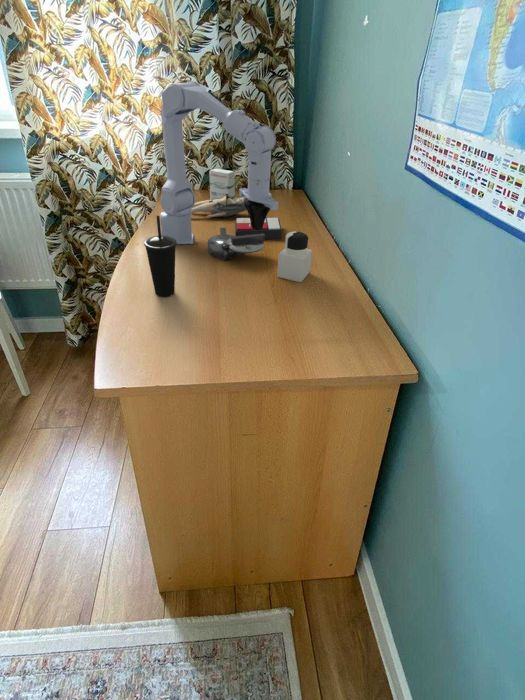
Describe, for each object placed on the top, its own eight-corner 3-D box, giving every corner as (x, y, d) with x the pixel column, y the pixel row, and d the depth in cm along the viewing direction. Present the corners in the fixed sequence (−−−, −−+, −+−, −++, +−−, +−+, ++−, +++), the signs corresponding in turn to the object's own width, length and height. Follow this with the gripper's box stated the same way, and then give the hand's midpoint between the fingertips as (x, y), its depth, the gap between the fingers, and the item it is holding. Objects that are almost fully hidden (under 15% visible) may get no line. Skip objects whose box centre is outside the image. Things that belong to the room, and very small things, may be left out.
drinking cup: (154, 302, 112) (146, 223, 100) (146, 288, 117) (136, 212, 106) (184, 296, 115) (179, 219, 103) (174, 283, 120) (168, 208, 109)
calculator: (235, 217, 155) (279, 215, 155) (235, 229, 157) (278, 228, 158) (235, 228, 146) (281, 227, 146) (235, 241, 148) (281, 240, 149)
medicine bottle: (309, 273, 129) (314, 232, 122) (300, 283, 124) (305, 241, 117) (286, 267, 132) (289, 227, 125) (276, 277, 126) (279, 235, 119)
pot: (208, 261, 133) (208, 249, 131) (207, 237, 147) (207, 227, 145) (242, 260, 134) (242, 249, 132) (238, 237, 148) (238, 227, 146)
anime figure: (165, 199, 163) (247, 187, 165) (169, 219, 168) (249, 207, 170) (164, 208, 156) (251, 196, 158) (169, 228, 160) (253, 216, 162)
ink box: (235, 202, 178) (235, 170, 171) (229, 205, 174) (229, 173, 167) (215, 198, 180) (215, 167, 174) (209, 202, 177) (208, 170, 170)
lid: (227, 255, 127) (227, 246, 126) (216, 241, 135) (215, 232, 134) (271, 250, 132) (271, 241, 130) (257, 236, 140) (257, 227, 138)
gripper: (288, 183, 117) (284, 233, 125) (254, 170, 126) (252, 218, 134) (267, 187, 113) (264, 239, 121) (233, 173, 122) (233, 222, 130)
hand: (257, 228), depth 127 cm, fingers closed
